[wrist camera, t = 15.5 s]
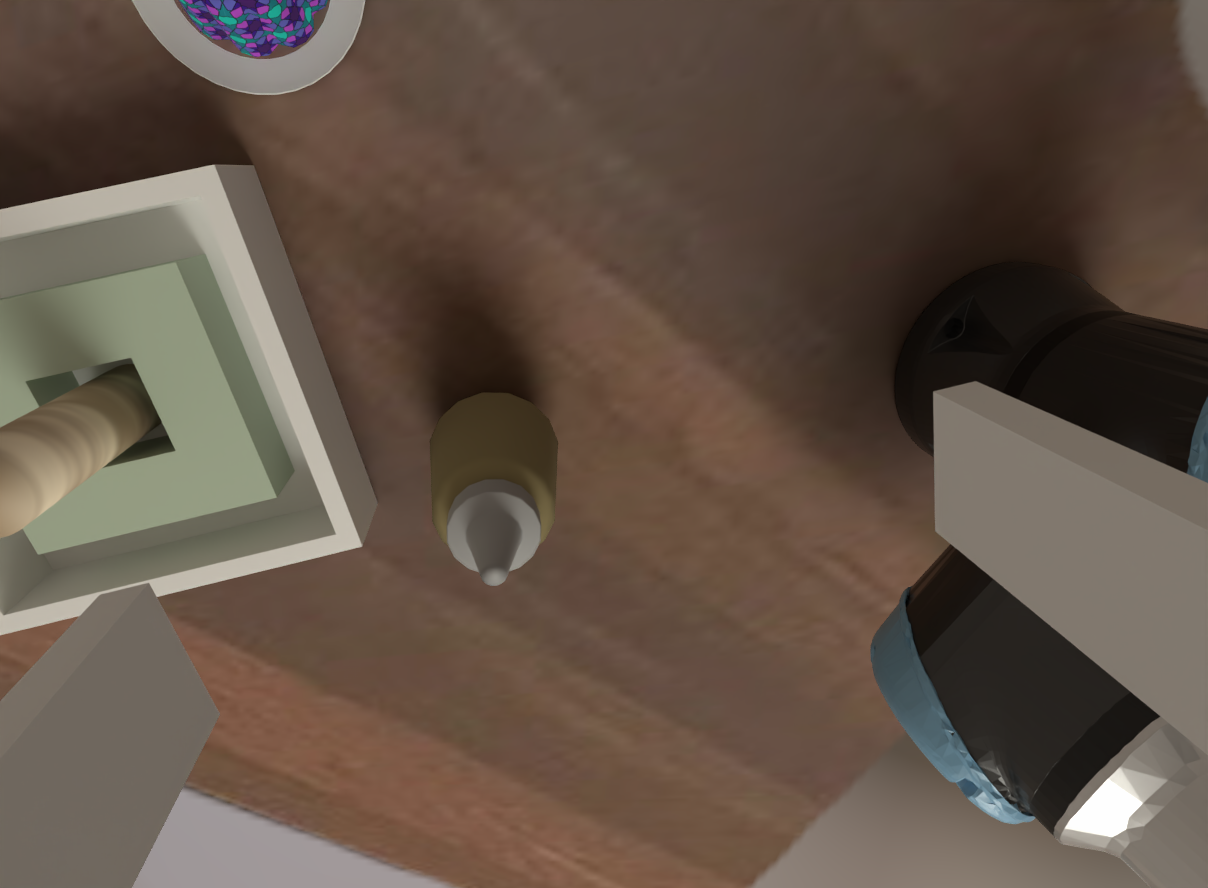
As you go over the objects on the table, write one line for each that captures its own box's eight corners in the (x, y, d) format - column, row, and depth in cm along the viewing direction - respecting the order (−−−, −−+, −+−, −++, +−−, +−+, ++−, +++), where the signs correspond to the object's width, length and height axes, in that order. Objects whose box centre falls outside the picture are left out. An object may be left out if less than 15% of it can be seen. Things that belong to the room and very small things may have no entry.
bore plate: (205, 253, 40) (175, 262, 36) (294, 470, 45) (276, 497, 42) (-46, 308, 39) (-102, 322, 35) (76, 523, 44) (38, 554, 41)
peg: (156, 357, 41) (2, 442, 29) (185, 418, 43) (51, 526, 30) (88, 372, 41) (-98, 465, 28) (119, 433, 43) (-44, 548, 30)
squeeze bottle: (424, 475, 48) (385, 638, 31) (445, 363, 45) (416, 475, 29) (539, 496, 49) (561, 659, 33) (566, 389, 47) (605, 508, 30)
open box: (253, 165, 39) (214, 164, 34) (377, 503, 48) (362, 546, 42) (-148, 249, 38) (-257, 263, 33) (53, 581, 47) (-7, 636, 41)
